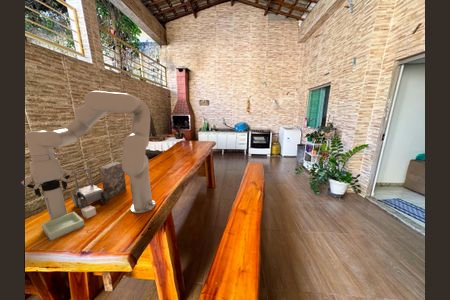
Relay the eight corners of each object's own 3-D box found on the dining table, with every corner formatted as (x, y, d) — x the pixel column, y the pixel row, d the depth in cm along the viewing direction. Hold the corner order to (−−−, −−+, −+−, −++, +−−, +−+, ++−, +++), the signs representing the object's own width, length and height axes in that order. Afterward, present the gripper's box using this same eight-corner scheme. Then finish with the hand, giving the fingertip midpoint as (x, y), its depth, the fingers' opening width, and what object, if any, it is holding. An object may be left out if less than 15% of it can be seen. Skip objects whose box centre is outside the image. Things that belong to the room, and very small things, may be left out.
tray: (84, 225, 80) (83, 219, 79) (50, 241, 70) (48, 234, 70) (75, 216, 87) (73, 211, 86) (42, 229, 77) (41, 224, 76)
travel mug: (66, 213, 90) (57, 178, 85) (69, 218, 85) (60, 181, 81) (49, 219, 85) (39, 182, 80) (51, 224, 81) (41, 185, 76)
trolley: (110, 203, 98) (104, 171, 94) (85, 214, 89) (77, 178, 84) (97, 196, 107) (91, 166, 103) (73, 204, 98) (66, 172, 93)
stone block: (113, 198, 105) (107, 167, 100) (103, 197, 106) (97, 167, 101) (128, 189, 117) (124, 161, 113) (119, 188, 118) (114, 161, 114)
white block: (96, 214, 89) (95, 207, 88) (87, 218, 85) (86, 211, 84) (91, 211, 91) (90, 205, 90) (82, 215, 87) (81, 209, 87)
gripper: (65, 152, 87) (72, 184, 91) (12, 160, 73) (23, 197, 77) (70, 154, 83) (78, 187, 87) (15, 163, 69) (27, 202, 73)
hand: (52, 192), depth 82 cm, fingers open, 8 cm apart
